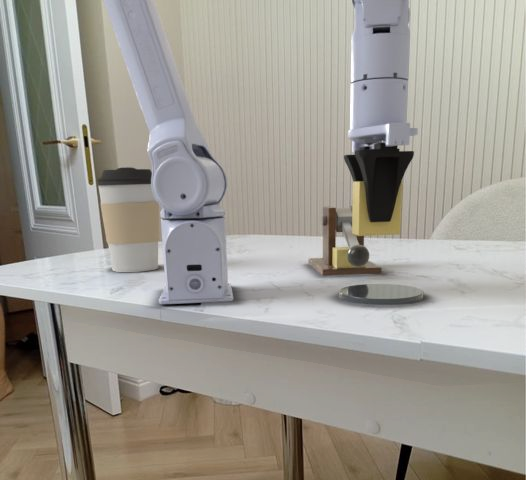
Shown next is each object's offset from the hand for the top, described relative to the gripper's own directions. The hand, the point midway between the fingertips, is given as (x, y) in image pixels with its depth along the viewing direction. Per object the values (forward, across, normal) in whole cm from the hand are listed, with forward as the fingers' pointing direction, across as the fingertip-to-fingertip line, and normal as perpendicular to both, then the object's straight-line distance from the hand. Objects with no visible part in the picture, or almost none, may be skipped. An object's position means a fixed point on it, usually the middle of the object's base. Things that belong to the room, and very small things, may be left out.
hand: (375, 220), depth 63 cm
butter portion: (+1, 0, 0) cm, 1 cm away
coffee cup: (+8, +29, +30) cm, 42 cm away
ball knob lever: (+4, +16, -1) cm, 17 cm away
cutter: (+8, +20, -1) cm, 22 cm away
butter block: (+7, +16, -1) cm, 18 cm away
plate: (+8, -1, 0) cm, 8 cm away
